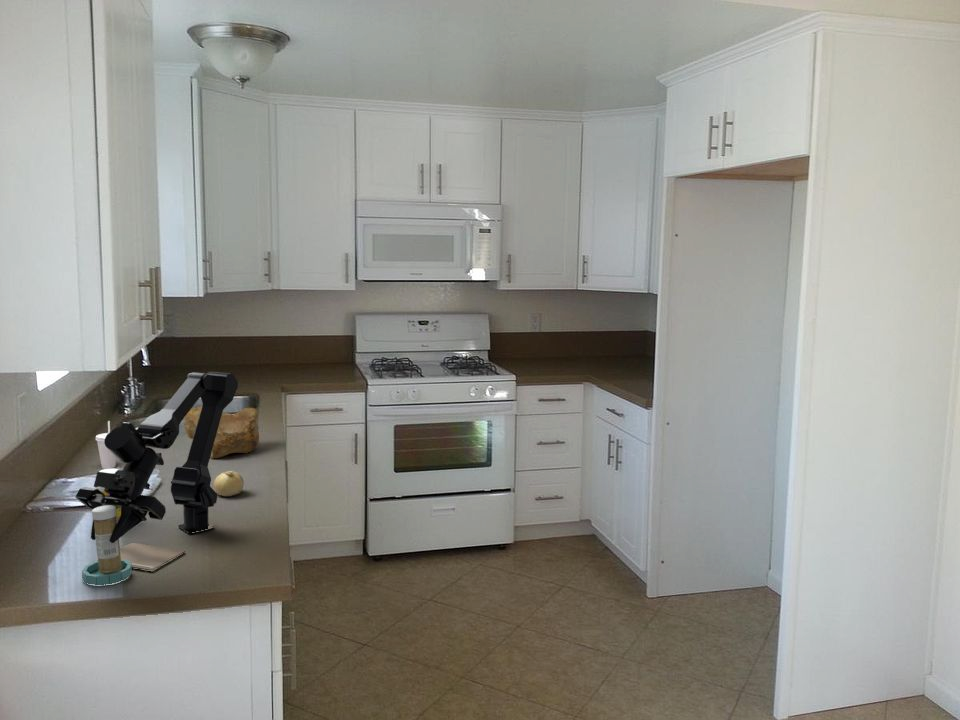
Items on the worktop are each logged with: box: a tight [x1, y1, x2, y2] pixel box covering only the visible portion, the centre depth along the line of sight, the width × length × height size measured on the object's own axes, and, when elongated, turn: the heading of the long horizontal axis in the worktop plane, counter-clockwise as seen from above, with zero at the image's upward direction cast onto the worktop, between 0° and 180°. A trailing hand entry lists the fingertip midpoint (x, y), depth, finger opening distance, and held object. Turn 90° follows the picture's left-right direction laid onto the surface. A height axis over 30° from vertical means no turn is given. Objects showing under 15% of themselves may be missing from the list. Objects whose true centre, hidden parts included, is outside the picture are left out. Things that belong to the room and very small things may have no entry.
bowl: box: [81, 559, 133, 585], centre depth 169 cm, size 9×9×2 cm
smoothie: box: [95, 420, 117, 470], centre depth 244 cm, size 6×6×14 cm
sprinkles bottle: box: [91, 505, 122, 574], centre depth 168 cm, size 5×5×14 cm
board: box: [96, 542, 186, 570], centre depth 179 cm, size 11×14×1 cm
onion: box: [213, 470, 245, 497], centre depth 223 cm, size 8×8×7 cm
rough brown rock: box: [184, 406, 260, 460], centre depth 261 cm, size 23×17×15 cm
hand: (101, 540), depth 167 cm, fingers closed on sprinkles bottle, 4 cm apart
